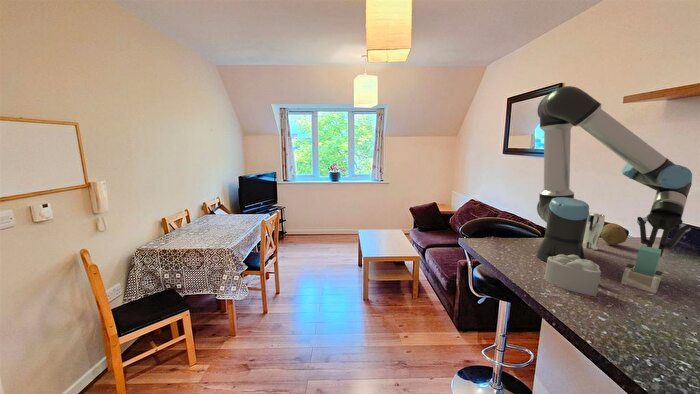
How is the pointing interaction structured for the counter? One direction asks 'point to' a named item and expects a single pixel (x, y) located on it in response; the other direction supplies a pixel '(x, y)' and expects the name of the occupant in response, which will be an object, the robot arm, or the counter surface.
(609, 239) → the natural sponge
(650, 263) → the teal block
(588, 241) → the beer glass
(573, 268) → the lumpy-topped squat cylinder
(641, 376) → the counter surface
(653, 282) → the guide channel
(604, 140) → the robot arm
